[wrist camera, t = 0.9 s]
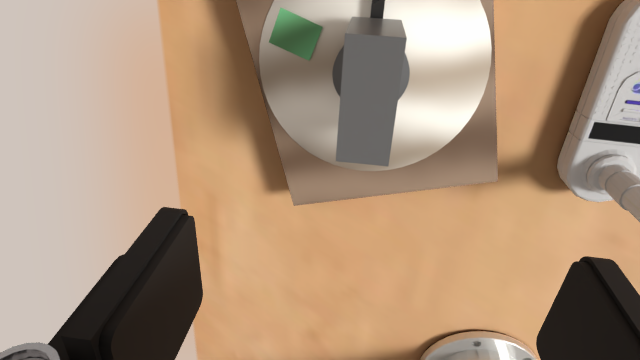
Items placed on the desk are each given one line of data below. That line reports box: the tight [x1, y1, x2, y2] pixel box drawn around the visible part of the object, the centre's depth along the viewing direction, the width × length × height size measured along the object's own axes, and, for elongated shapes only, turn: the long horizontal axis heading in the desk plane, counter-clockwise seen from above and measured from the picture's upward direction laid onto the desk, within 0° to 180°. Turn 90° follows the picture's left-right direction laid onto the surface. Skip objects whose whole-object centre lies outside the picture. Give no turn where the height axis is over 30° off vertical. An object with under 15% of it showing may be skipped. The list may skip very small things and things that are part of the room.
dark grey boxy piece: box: [332, 0, 410, 166], centre depth 24 cm, size 10×5×7 cm, turn 177°
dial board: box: [236, 0, 498, 206], centre depth 30 cm, size 20×16×3 cm
